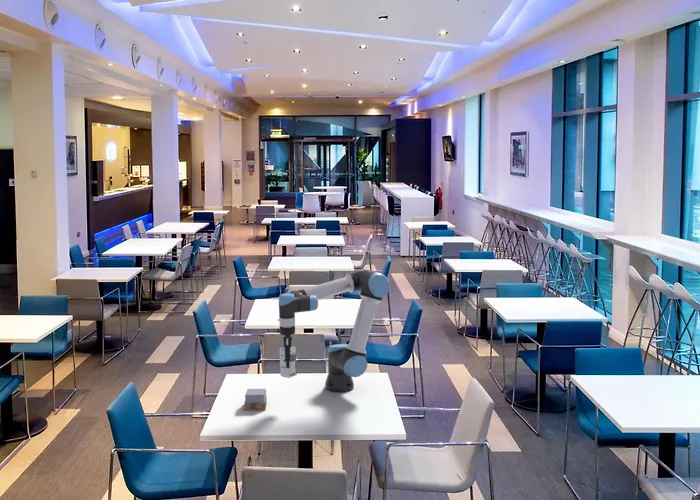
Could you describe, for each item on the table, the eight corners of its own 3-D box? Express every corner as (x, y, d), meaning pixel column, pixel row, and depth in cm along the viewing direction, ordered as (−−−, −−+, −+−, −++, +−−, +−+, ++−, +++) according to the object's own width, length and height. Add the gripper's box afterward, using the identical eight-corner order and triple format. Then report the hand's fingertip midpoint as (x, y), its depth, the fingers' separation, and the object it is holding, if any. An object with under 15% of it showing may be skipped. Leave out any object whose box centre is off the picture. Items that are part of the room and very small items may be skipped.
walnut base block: (266, 403, 371) (266, 396, 370) (265, 411, 361) (265, 403, 360) (246, 404, 370) (246, 396, 370) (244, 411, 361) (244, 403, 360)
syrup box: (289, 378, 360) (288, 349, 358) (280, 376, 364) (279, 347, 362) (296, 375, 365) (296, 346, 363) (287, 373, 368) (287, 344, 366)
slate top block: (266, 396, 370) (265, 388, 369) (263, 402, 361) (263, 394, 360) (247, 396, 370) (247, 388, 369) (245, 402, 361) (245, 394, 360)
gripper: (280, 320, 371) (281, 365, 374) (278, 331, 350) (279, 378, 354) (295, 320, 371) (296, 365, 374) (294, 330, 351) (295, 377, 354)
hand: (288, 371), depth 364 cm, fingers closed on syrup box, 8 cm apart
